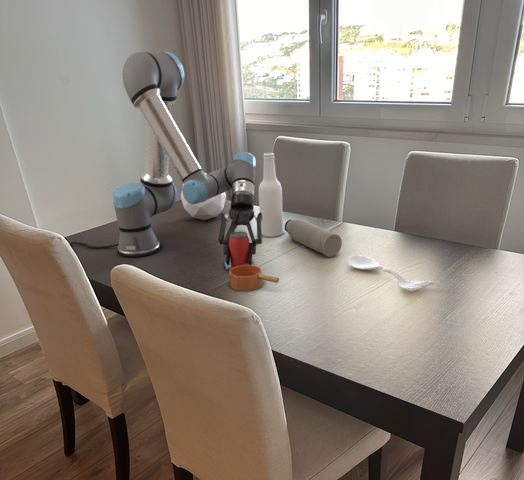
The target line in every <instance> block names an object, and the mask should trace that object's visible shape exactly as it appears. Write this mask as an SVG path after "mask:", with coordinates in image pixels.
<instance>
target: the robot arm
mask: <svg viewBox="0 0 524 480" xmlns="http://www.w3.org/2000/svg"><path fill="white" fill-rule="evenodd" d="M121 74H122V75H121V76H122V82H123V86H124V89H125V92H126V94H127V96H128V98H129V100H130V102H131V104H132V105H133V107H134V108H135V109H139V111H140V113H141V114H142V116H143V117H144V119H145V137H144V138H145V141H144V171H143V172H142V173H141V174H140V177H139V178H140V180H139V181H140V182H128V183H127V184H126V183H125V184H121V185H120V186H118V187H116V188H115V189H114V190H113V192H112V200H113V201H112V203H113V206H114V212H115V216H116V219H117V225H118V229H119V236H118V237H119V238H118V243H114V244H110V245H100V246H97V245H90V244H88V243H86V242H80V241H71V242H70V243H69V244H70V246H72V245H81V246H82V245H83V246H86V247H88V248H91V249H109V248H114V247H117V250H118V254H119V255H120V256H122V257H126V258H127V257H128V258H139V257H145V256H149V255H152V254H155V253H157V252H158V251H159V250H160V248H161V244H160V241H159V239H158V238H157V235H156V233H155V232H154V230H153V228H152V221H151V217H153V216H156V215H158V214H161V213H164V212H167V211H169V210H170V209H171V208H173V207H174V206H175V204H176V203H177V200H178V189H177V187H176V185H175V183H174V182H173V177H172V176H171V175H170V173H169V172H170V171H169V167H170V163H171V165H172V167H173V169H175V171H176V173H177V175H178V176H179V178H180V180H181V182H182V188H181V193H182V192H183V196H184V198H185V200H186V201H187V202H189V203H191V204H198V203H201V202H205V201H206V200H208V199H210V198H212V197H215V196H217V195H219V194H222V193H224V192H225V193H226V192H228V191H231V192H230V194H231V198H230V208H229V211H228V213H224V212H220V219H221V220H220V226H219V231H218V232H219V233H218V238H217V241H218V243H219V244H220V245H223V247H222V248H223V249H222V250H223V255H225V261H226V264H227V265H230V250H229V238H230V234H231V233H233V232H236V229H237V228H238V226H246V229H247V231H248V232H247V233H248V235H249V239H250V241H251V242H250V244H249V260H248V262H249V265H253V255H254V256H255V255H256V253H257V246H258V245H262V244H263V237H262V236H263V235H262V234H261V221H262V213H260V212H258V213H257V212H255V211H254V208H255V191H256V190H255V188H256V187H255V183H256V172H257V167H256V164H257V163H256V161H257V160H256V157H255V156H254V155H253V154H252V153H250V152H248V151H238V152H237V153H235V155H234V156H233V160H232V163H230V164H228V165H226V166H224V167H222V168H219V169H217V170H214V171H211V172H209V173H206V175H205V171H204V169H203V168H202V167H201V165H200V163H199V162H198V160H197V158H196V157H195V155H194V153H193V151H192V149H191V147H190V146H189V144H188V142H187V141H186V139H185V137H184V135H183V134H182V132H181V130H180V129H179V127H178V125H177V123H176V122H175V120H174V118H173V117H172V111H173V110H172V109H173V108H172V107H173V105H174V104H175V103H176V102H177V100H178V99H177V98H178V97H177V96H178V91H179V90H180V89H181V88H182V87H183V85H184V83H185V69H184V67H183V63H181V61H180V59H179V58H178V56H177V55H175V54H174V53H173V52H171V51H164V50H154V51H153V50H152V51H136V52H134V53H132V54H131V55H129V56H128V57H127V58H126V60H125V61H124V64H123V66H122V73H121ZM183 184H184V185H183ZM229 218H230V220H231V222H230V225H229V227H228V229H227V232H226V228H227V222H228V220H229ZM253 219H255V221H256V238H255V235H254V232H253V228H252V225H251V221H252V220H253Z"/></svg>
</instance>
